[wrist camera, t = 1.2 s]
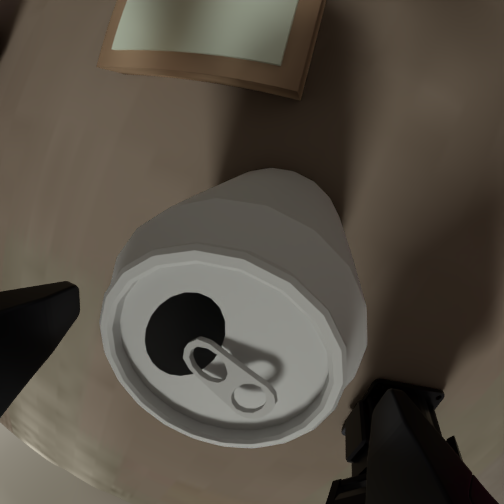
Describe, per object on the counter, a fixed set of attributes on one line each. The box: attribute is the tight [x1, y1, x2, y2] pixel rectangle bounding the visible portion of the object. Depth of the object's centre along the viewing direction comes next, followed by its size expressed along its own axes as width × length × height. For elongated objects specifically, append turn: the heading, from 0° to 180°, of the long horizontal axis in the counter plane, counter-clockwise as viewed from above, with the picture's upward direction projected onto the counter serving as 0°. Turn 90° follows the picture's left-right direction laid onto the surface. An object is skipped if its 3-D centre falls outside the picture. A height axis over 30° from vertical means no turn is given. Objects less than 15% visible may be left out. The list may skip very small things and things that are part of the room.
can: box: [99, 168, 367, 448], centre depth 12 cm, size 8×8×12 cm
